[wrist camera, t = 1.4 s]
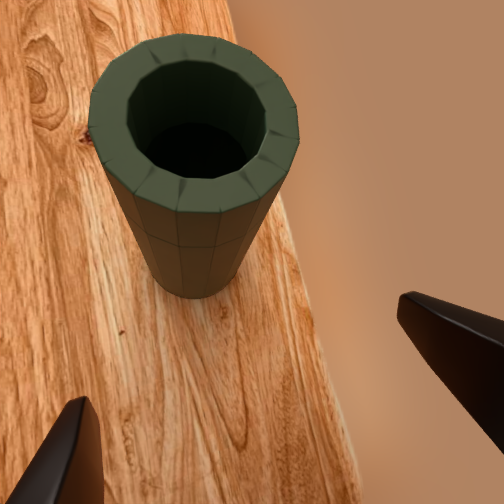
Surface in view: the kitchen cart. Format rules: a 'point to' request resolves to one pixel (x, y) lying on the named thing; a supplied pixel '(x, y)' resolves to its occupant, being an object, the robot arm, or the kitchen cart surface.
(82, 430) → the robot arm
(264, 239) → the kitchen cart surface
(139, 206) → the hollow cylinder
